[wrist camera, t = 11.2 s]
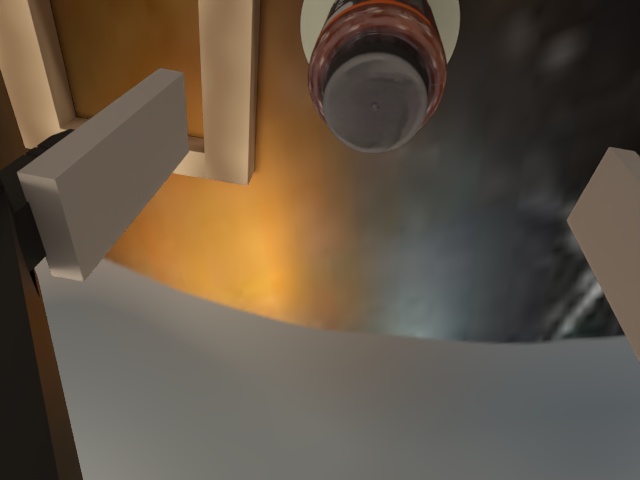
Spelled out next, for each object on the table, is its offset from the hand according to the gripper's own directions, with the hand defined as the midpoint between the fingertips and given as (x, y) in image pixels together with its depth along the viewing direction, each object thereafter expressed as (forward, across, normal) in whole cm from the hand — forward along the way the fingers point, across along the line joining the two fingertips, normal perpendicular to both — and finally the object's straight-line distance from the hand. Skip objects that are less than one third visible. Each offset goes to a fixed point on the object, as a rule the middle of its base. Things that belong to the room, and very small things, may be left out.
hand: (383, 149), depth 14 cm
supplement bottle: (+15, +1, 0) cm, 15 cm away
